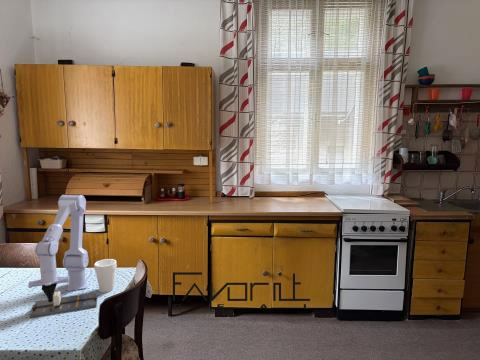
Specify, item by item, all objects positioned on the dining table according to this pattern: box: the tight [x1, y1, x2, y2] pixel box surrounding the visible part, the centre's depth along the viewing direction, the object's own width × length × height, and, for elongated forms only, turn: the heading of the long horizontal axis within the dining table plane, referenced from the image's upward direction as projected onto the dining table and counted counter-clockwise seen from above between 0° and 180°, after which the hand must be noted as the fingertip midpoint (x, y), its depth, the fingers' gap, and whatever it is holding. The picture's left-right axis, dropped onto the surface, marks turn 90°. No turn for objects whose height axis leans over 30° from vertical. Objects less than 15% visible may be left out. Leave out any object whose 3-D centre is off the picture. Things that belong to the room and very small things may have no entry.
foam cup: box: [94, 258, 118, 293], centre depth 156 cm, size 10×9×13 cm
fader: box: [53, 290, 61, 306], centre depth 140 cm, size 5×2×4 cm, turn 21°
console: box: [29, 291, 98, 319], centre depth 142 cm, size 12×24×2 cm, turn 111°
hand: (50, 301), depth 140 cm, fingers closed
